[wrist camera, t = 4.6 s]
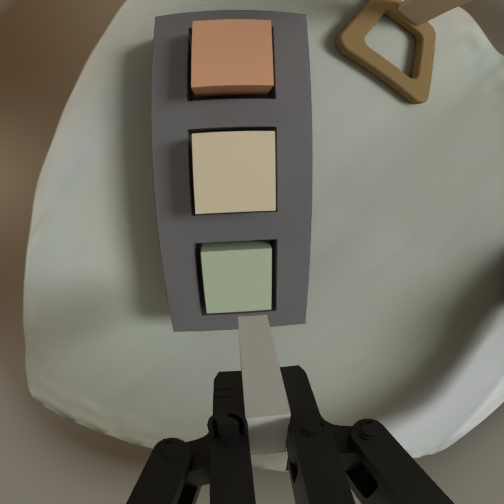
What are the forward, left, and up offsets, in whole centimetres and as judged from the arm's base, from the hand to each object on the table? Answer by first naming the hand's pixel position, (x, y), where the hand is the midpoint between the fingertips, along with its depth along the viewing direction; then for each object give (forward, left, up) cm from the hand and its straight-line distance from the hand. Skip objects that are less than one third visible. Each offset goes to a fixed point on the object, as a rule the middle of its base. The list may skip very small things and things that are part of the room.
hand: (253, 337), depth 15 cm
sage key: (0, 0, -10) cm, 10 cm away
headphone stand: (-16, -22, -11) cm, 29 cm away
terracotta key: (0, -16, -8) cm, 18 cm away
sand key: (0, -8, -8) cm, 11 cm away
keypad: (0, -8, -11) cm, 14 cm away
